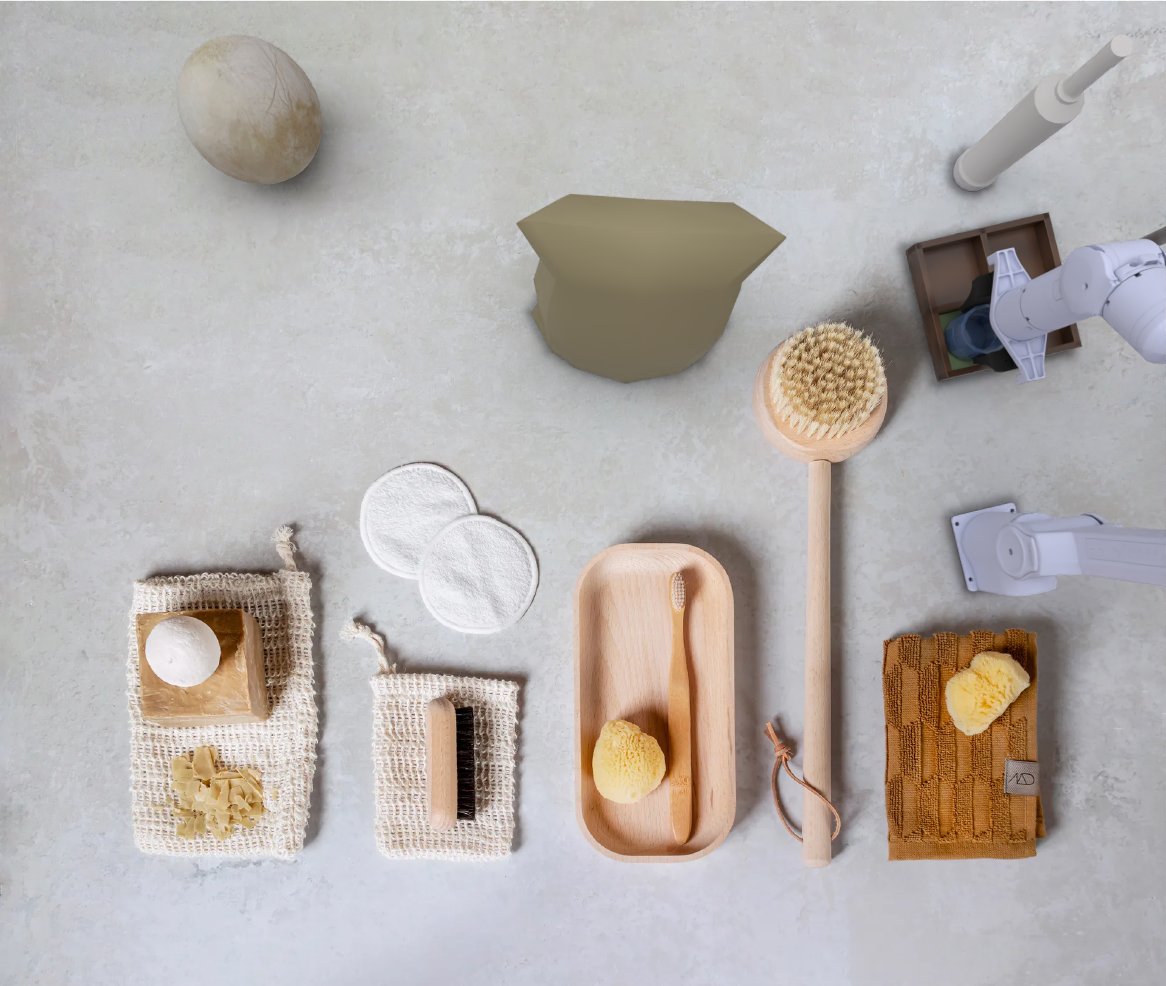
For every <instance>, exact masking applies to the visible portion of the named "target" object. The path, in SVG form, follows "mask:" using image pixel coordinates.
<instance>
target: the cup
mask: <svg viewBox="0 0 1166 986" xmlns="http://www.w3.org/2000/svg"><path fill="white" fill-rule="evenodd" d="M945 343H946V345H947V347H948V349H949V351H950V352H951V353H952V354H953V355H955V356H956V357H957V358H959V359H963V360H968V361H970V360H972V359H973V358H977V357H981V356H985V355H987V354H989V353H990V352H994V351H998V350H1000V349H1002V348H1003V347H1004V345H1003V344H1002V342H1001V341H1000V339H999V338H998V336H997V335H996V333H995V332H994V330H993V328H992V326H991V323H990V304H982V305H978V306H975V307H973V308H971V309H969V310H967V311H965V312H963V313H961V314H959V315H957V316H956V317H954V318H953V319H952V320H951V321H950V322H949V323H948V326H947V328H946V330H945Z"/></svg>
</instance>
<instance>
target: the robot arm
mask: <svg viewBox="0 0 1166 986" xmlns="http://www.w3.org/2000/svg"><path fill="white" fill-rule="evenodd" d="M987 260H988V264H989V266H994V271H992V272H990V273H987V274H984V275H980V276H978V277H976V278H975V279H974V280H973V281H972V288H971V292H970V294H969V296H968V298H967V299H966V301H965V302H964V303H963V305H962V306H961V307H960V310H961V313H962V312H965V311H967V310H969V309H971V308H973V307H975V306H978V305H982V304H988V303H990V302H991V305H990V323H991V326H992V328H993V330H994V332H995V333H996V335H997V336H998V338H999V339H1000V341H1001V342H1002V344H1003V345H1004V347H1005V348H1006V349H1002V350H998V351H994V352H990V353H989V354H987V355H985V356H981V357H977V358H973V359H972V360H973V364H982V365H986V366H989V367H991V368H992V369H991V370H992V371H993V372H994V373H1005V372H1009V371H1014V370H1019V372H1020V373H1018V374H1016V376H1015V378H1016V383H1017V385H1021V384H1022V385H1023V384H1026V383H1030V382H1035V381H1039V380H1043V379H1045V378H1046V371H1045V358H1046V356H1045V349H1046V340H1047V333H1049V332H1052V331H1054V330H1057V329H1060V328H1063V327H1065V326H1068V325H1071V324H1074V323H1076V324H1077V323H1079V322H1082V321H1084V320H1088V319H1090V318H1092V317H1099V316H1100V317H1101V318H1102V319H1103V320H1104V322H1106V323H1107V324H1108V325H1109V326H1110V327H1111V329H1113V330H1114V331H1115V332H1116V333H1117V334H1118V335H1119V336H1120V337H1121V338H1122V339H1123V340H1124V341H1125V342H1126V343H1127V344H1128V345H1130V347H1131V348H1132V349H1134V350H1135V352H1137V353H1138V354H1139V355H1140V356H1141V357H1142V358H1143V359H1144V360H1145V361H1146V362H1148V363H1150V364H1155V365H1166V251H1165V249H1164V248H1163V247H1161V246H1159V245H1157V244H1156V243H1155V242H1153V241H1151V240H1148V239H1140V238H1138V239H1129V240H1128V239H1127V240H1121V241H1112V242H1104V243H1096V244H1095V243H1094V244H1087V245H1085V246H1078V247H1076V248H1074V249H1073V250H1072V251H1071V252H1070V253H1068V255H1067V256H1066V258H1065V259H1064V261H1063V262H1062V265H1061V266H1059V267H1057V268H1055V269H1053V270H1051V271H1049V272H1047V273H1045V274H1043V275H1041V276H1039V277H1037V278H1035V279H1033V280H1031V278H1030V277H1029V275H1028V274H1027V272H1026V271H1025V269H1024V268H1023V266H1022V265H1021V263H1020V262H1019V260H1018V258H1017V256H1016V253H1015V249H1014V248H1009V249H1005V250H1001V251H997V252H995V253H993V254H992V255H990V256H988V257H987ZM1011 510H1012V512H1011ZM950 523H951V526H952V531H953V536H954V539H955V544H956V548H957V551H958V555H959V560H960V564H961V569H962V572H963V577H964V580H965V584H966V588H967V590H968V591H970V592H977V591H980V592H984V593H989V594H995V595H999V596H1003V597H1028V596H1029V597H1030V596H1035V595H1041V594H1045V593H1048V592H1051V591H1054V590H1056V589H1057V588H1058V580H1057V576H1058V577H1059V576H1091V577H1096V578H1103V579H1110V580H1116V581H1117V580H1118V581H1123V582H1129V583H1136V584H1141V585H1150V586H1155V587H1161V588H1162V587H1163V588H1166V529H1162V528H1142V527H1140V528H1139V527H1124V525H1123V524H1122V523H1121V522H1120V523H1119V522H1111V521H1109V520H1106V519H1105V518H1104V517H1102V516H1101V515H1099V514H1097V513H1093V512H1086V513H1085V512H1084V513H1082V514H1079V515H1074V516H1073V515H1072V516H1064V517H1056V518H1055V517H1054V516H1051V515H1049V514H1046V513H1041V512H1018V511H1017V507H1016V504H1015V503H1014V502H1007V503H1003V504H998V505H994V506H989V507H986V508H983V509H978V510H973V511H969V512H965V513H961V514H957V515H953V516H952V517H951V518H950ZM956 523H957V525H956Z"/></svg>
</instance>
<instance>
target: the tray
mask: <svg viewBox="0 0 1166 986" xmlns="http://www.w3.org/2000/svg"><path fill="white" fill-rule="evenodd" d="M1052 223H1053V222H1052V219H1051V215H1050V212H1049V211H1048V212H1043V213H1039V214H1035V215H1030V216H1026V217H1021V218H1017V219H1013V220H1009V221H1005V222H1000V223H996V224H993V225H988V226H987V225H986V226H983V227H979V228H975V229H971V230H966V231H962V232H958V233H954V234H950V235H945V236H942V237H938V238H933V239H928V240H925V241H920V242H916V243H913V244H912V245H911V246H910V247H909V248H907V249H906V250H905V254H906V255H905V256H906V259H907V263H908V267H909V270H910V273H911V275H910V276H911V279H912V283H913V287H914V291H915V295H916V299H917V303H918V308H919V311H920V315H921V320H922V324H923V328H924V332H925V336H926V340H927V345H928V348H929V351H930V357H931V361H932V364H933V365H932V366H933V369H934V373H935V377H936V380H937V382H941V381H942V382H944V381H948V380H951V379H956V378H960V377H964V376H968V375H973V374H977V373H981V372H986V371H989V370H993V369H992V368H991V367H989V366H986V365H982V364H973V360H970V361H968V360H963V359H959V358H957V357H956V356H955V355H953V354H952V353H951V352H950V351H949V349H948V347H947V345H946V343H945V330H946V328H947V326H948V323H949V322H950V321H951V320H952V319H953V318H954V317H956V316H957V315H959V314H961V310H960V307H961V306H962V305H963V303H964V302H965V301H966V299H967V298H968V296H969V294H970V292H971V288H972V281H973V280H974V279H975V278H976V277H978V276H980V275H984V274H987V273H990V272H992V271H994V266H989V264H988V260H987V257H988V256H990V255H992V254H993V253H995V252H997V251H1001V250H1005V249H1009V248H1014V249H1015V253H1016V256H1017V258H1018V260H1019V262H1020V263H1021V265H1022V266H1023V268H1024V269H1025V271H1026V272H1027V274H1028V275H1029V277H1030V278H1031V280H1033V279H1035V278H1037V277H1039V276H1041V275H1043V274H1045V273H1047V272H1049V271H1051V270H1053V269H1055V268H1057V267H1059V266H1061V265H1063V262H1062V259H1061V255H1060V252H1059V248H1058V243H1057V239H1056V235H1055V231H1054V228H1053V224H1052ZM1139 239H1148V240H1151V241H1153V242H1155V243H1156V244H1157V245H1159V246H1160V247H1161V246H1164V245H1166V226H1163V227H1161V228H1158V229H1157V230H1155V231H1152V232H1150V233H1148V234H1146V235H1144V236H1142V237H1140V238H1139ZM988 304H990V305H991V302H990V303H988ZM962 313H963V312H962ZM1082 347H1083V345H1082V340H1081V337H1080V332H1079V328H1078V325H1077V323H1074V324H1071V325H1068V326H1065V327H1063V328H1060V329H1057V330H1054V331H1052V332H1049V333H1047V340H1046V349H1045V357H1047V356H1053V355H1057V354H1061V353H1066V352H1069V351H1073V350H1075V349H1076V350H1077V349H1079V348H1082ZM1002 349H1006V348H1005V347H1003V348H1002ZM1002 349H1000V350H1002Z"/></svg>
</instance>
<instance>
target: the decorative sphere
mask: <svg viewBox="0 0 1166 986" xmlns="http://www.w3.org/2000/svg"><path fill="white" fill-rule="evenodd" d="M176 106H177V112H178V113H177V114H178V117H179V120H180V122H181V125H182V127H183V130H184V132H185V135H186V136H187V138H188V139H189V141H190V142H191V144H192V146H193V147H194V149H196V151H197V152H198V153H199V154H200V155H201V157H202V158H203V159H205V161H207V163H209V165H211V166H212V167H214V168H215V169H217V170H218V171H220V172H221V173H223V174H224V175H226V176H228V177H231V178H232V179H234V180H237V181H240V182H244V183H247V184H251V185H253V184H254V185H274V184H279V183H282V182H285V181H288V180H290V179H292V178H294V177H296V176H297V175H299V174H301V172H303V171H304V170H305V169H306V168H307V167H308V166H309V165H310V163H311V162H312V161H313V160H314V158H315V156H316V154H317V152H318V150H319V148H320V147H319V146H320V144H321V141H322V135H323V113H322V107H321V104H320V100H319V96H318V94H317V91H316V89H315V87H314V85H313V83H312V81H311V80H310V78H309V77H308V75H307V74H306V72H305V71H304V69H303V68H302V66H300V65H299V64H298V63H297V62H296V61H295V60H294V59H293V58H292V57H291V56H290V55H289V54H288V53H287V52H286V51H284V50H282V48H279V47H278V46H276V45H274V44H273V43H270V42H268V41H266V40H264V39H263V38H258V37H256V36H251V35H246V34H225V35H220V36H216V37H214V38H212V39H209V40H207V41H205V42H203V43H202V44H200V45H199V46H198V47H196V48H195V49H194V50H193V51H192V52H191V54H189V56H188V57H187V58H186V60H185V61H184V63H183V65H182V68H181V69H180V73H179V76H178V79H177V84H176Z"/></svg>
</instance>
